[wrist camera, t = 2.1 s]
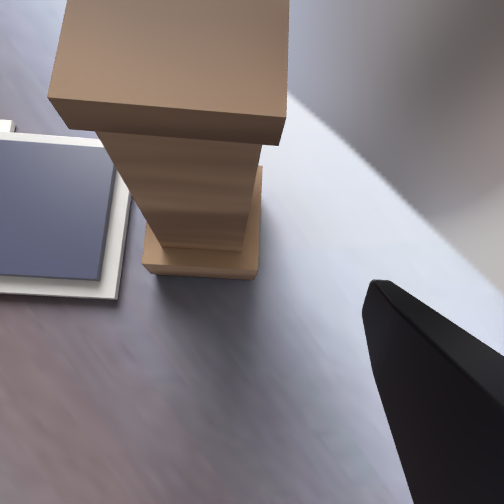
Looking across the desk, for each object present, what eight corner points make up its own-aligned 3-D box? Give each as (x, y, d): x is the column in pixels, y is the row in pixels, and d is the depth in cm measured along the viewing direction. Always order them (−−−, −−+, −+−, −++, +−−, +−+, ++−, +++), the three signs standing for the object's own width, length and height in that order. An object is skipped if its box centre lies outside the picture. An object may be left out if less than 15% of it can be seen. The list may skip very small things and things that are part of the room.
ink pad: (117, 299, 20) (111, 296, 18) (-60, 290, 19) (-78, 286, 18) (137, 147, 22) (133, 136, 21) (-21, 135, 21) (-35, 122, 20)
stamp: (253, 282, 20) (313, 144, 7) (153, 276, 20) (11, 119, 7) (256, 190, 22) (314, -76, 8) (163, 184, 21) (63, -104, 8)
